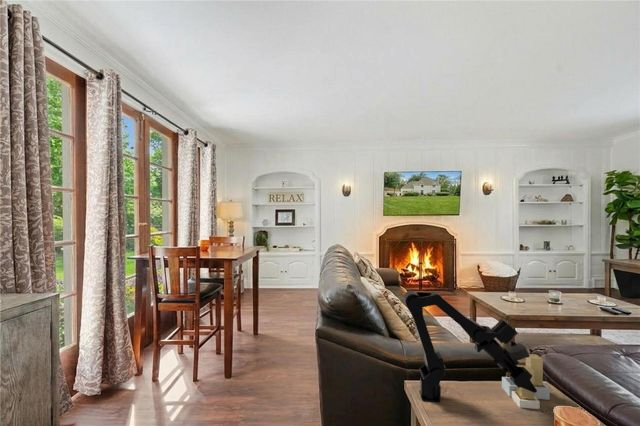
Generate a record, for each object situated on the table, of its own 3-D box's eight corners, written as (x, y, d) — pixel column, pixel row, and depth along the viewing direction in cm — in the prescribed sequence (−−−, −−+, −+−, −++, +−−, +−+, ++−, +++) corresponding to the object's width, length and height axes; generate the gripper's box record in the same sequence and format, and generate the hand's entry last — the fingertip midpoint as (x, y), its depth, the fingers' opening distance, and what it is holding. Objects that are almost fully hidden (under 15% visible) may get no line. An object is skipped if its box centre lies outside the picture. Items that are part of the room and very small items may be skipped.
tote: (519, 407, 114) (519, 400, 114) (511, 397, 120) (511, 390, 120) (539, 409, 113) (539, 401, 113) (530, 398, 119) (530, 391, 119)
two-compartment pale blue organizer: (509, 396, 120) (509, 385, 120) (501, 387, 127) (501, 376, 127) (549, 399, 118) (549, 388, 118) (539, 389, 125) (539, 379, 125)
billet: (521, 405, 115) (521, 370, 115) (516, 399, 119) (516, 365, 119) (534, 406, 114) (534, 371, 114) (528, 400, 118) (528, 365, 118)
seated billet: (531, 392, 121) (530, 358, 121) (525, 386, 124) (525, 353, 125) (543, 393, 120) (543, 359, 120) (537, 387, 124) (537, 354, 124)
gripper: (525, 347, 108) (562, 383, 106) (502, 328, 126) (533, 358, 125) (500, 369, 109) (536, 405, 107) (480, 347, 127) (511, 377, 126)
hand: (529, 384), depth 116 cm, fingers open, 9 cm apart
